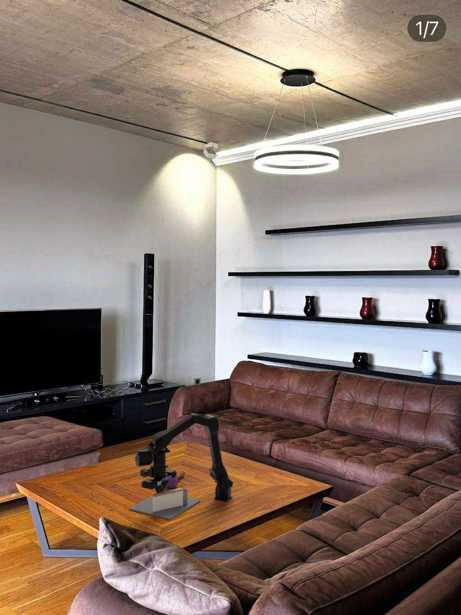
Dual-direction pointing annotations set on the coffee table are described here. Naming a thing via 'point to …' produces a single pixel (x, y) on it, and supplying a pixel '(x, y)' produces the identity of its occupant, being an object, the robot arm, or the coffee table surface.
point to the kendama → (174, 479)
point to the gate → (167, 499)
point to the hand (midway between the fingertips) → (159, 497)
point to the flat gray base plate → (168, 513)
